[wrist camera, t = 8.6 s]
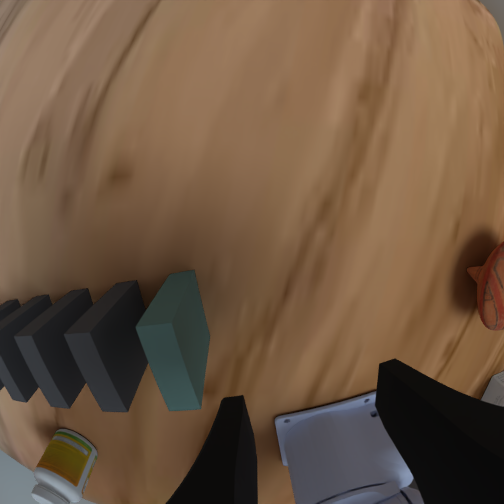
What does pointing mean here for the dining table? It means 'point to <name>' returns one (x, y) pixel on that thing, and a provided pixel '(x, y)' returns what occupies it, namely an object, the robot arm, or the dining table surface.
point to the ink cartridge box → (495, 390)
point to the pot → (491, 289)
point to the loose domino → (177, 341)
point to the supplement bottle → (64, 469)
